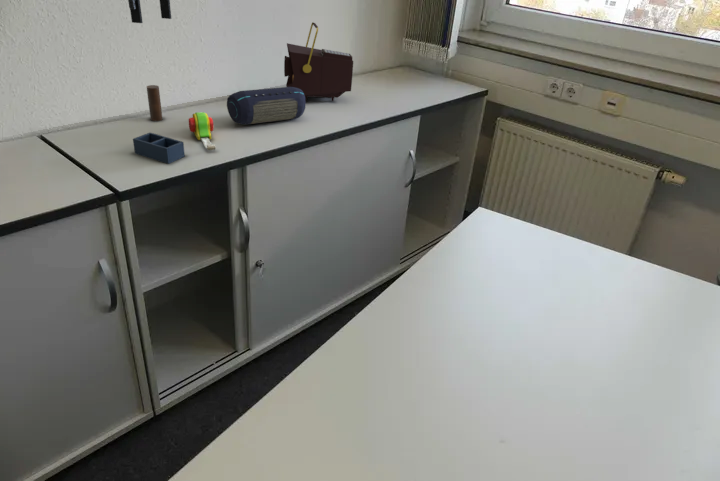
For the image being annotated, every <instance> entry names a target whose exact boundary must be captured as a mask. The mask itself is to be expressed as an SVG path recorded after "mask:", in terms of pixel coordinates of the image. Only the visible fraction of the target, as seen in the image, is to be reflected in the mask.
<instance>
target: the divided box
mask: <svg viewBox="0 0 720 481" xmlns="http://www.w3.org/2000/svg"><path fill="white" fill-rule="evenodd" d="M132 142H133V149H134V154H135V155H137V156H142V157H145V158H148V159H151V160H155V161H157V162H161V163H164V164H168V165H169V164H171V163H173V162H176V161H179V160H180V159H182V158H184V157H185V146H184V141H181V140H178V139H174V138H171V137H168V136H165V135H161V134H158V133H157V134H156V133H154V132H147V133H144V134H142V135H139V136H136V137H133V138H132Z"/></svg>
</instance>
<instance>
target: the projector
mask: <svg viewBox="0 0 720 481" xmlns="http://www.w3.org/2000/svg"><path fill="white" fill-rule="evenodd" d="M313 27H314V28H315V29H316V30H315V34H314V38H313V42H312V46H311V47H308V46H309V41H310V37H311V33H312V31H313ZM318 33H319V26H318V25H317V23H316V22H314V21H313V22H311V26H310V28H309V32H308V35H307V40H306V43H305V46H303V45H299V44H292V43H287V42H286V46H287V47H286V48H287V53H288V55H284V60H283V62H284V63H283V73H284V78H286V77H287V80H286V84H285V87H295V88H299V89H301V90H302V91H303V93H304V95H305V102H307V101H308V97H309V98H310V97H311V98H331V102H334V99H335V98H339V97H341V96H342V95H344V93H346V92H352V84H353V71H354V60H353V55H351V53H348V52H342V51H337V50H331V49H326V48H321V49H319V48H315V44H316V41H317V37H318Z"/></svg>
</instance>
